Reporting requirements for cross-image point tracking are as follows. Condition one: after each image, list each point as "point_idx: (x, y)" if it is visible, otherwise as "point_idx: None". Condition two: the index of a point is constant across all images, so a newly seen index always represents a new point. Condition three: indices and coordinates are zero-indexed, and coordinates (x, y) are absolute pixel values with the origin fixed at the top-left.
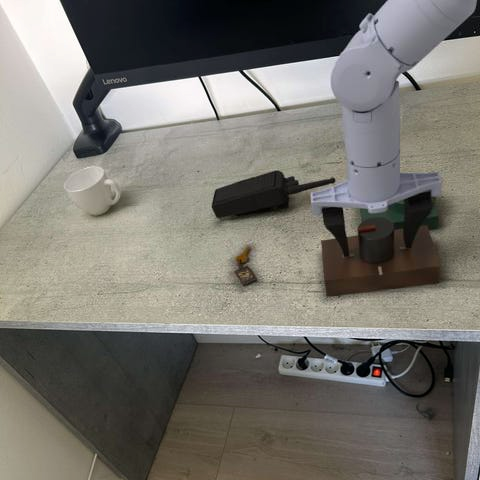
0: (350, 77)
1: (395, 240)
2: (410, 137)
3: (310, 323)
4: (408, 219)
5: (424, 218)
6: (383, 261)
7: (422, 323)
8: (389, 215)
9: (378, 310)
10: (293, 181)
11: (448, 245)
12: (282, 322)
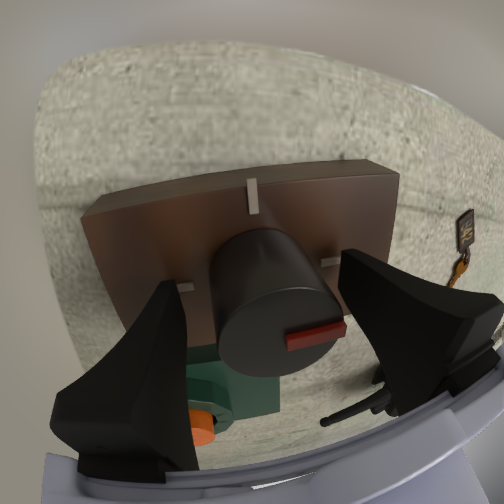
0: None
1: (207, 313)
2: (201, 457)
3: (398, 88)
4: (161, 374)
5: (89, 373)
6: (241, 234)
7: (140, 58)
8: (223, 375)
9: (249, 98)
10: (379, 408)
11: (100, 307)
12: (438, 107)
